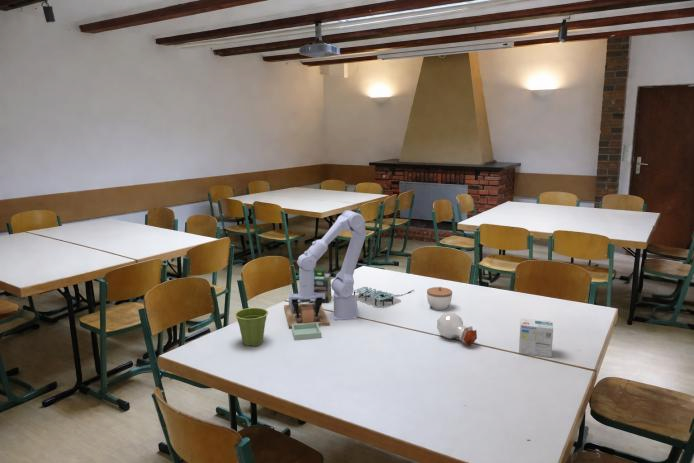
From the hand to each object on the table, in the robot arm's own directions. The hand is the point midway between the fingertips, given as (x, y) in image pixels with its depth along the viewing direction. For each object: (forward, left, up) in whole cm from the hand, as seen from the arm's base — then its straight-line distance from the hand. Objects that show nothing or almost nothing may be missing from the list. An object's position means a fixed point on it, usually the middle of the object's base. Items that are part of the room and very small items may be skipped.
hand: (307, 316), depth 200 cm
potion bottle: (-51, +29, -3) cm, 59 cm away
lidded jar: (-58, -4, -3) cm, 58 cm away
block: (0, 0, -2) cm, 2 cm away
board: (0, -6, -2) cm, 6 cm away
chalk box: (-9, -25, -3) cm, 27 cm away
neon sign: (-40, -24, -3) cm, 47 cm away
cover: (0, -11, -1) cm, 11 cm away
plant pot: (+22, +15, -3) cm, 27 cm away
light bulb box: (-74, +44, -3) cm, 86 cm away
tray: (+2, +12, -2) cm, 12 cm away
